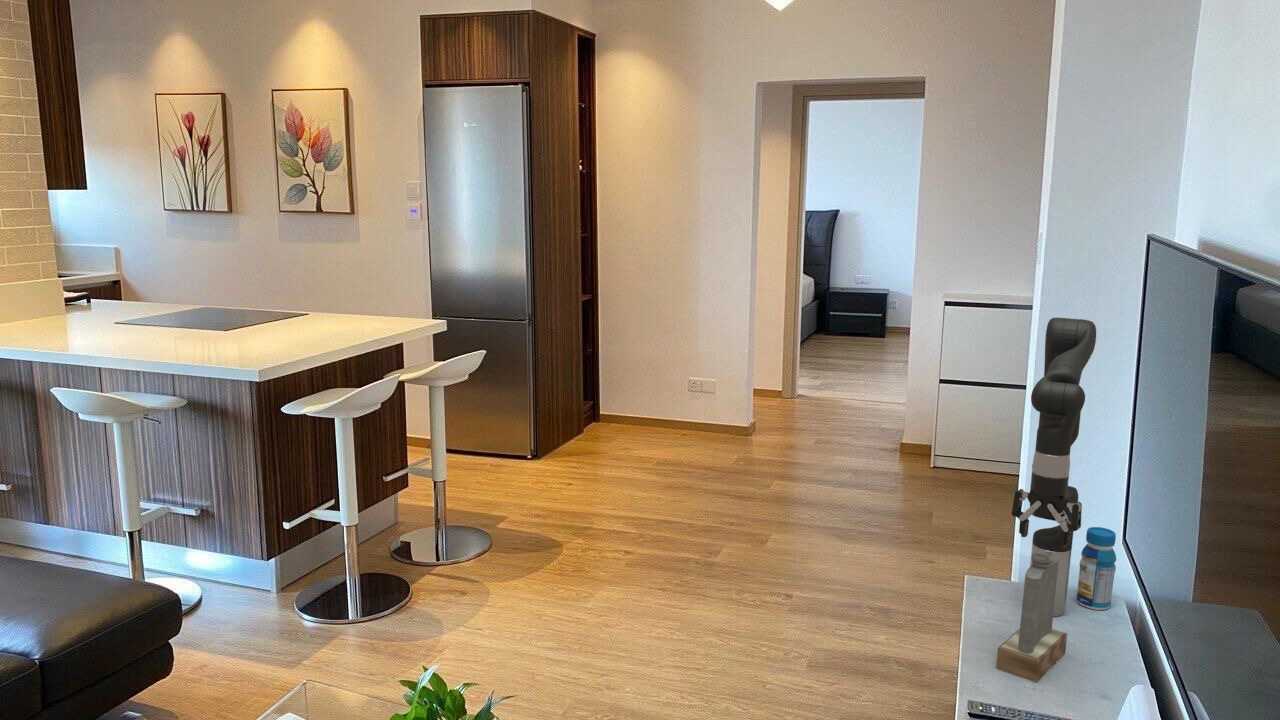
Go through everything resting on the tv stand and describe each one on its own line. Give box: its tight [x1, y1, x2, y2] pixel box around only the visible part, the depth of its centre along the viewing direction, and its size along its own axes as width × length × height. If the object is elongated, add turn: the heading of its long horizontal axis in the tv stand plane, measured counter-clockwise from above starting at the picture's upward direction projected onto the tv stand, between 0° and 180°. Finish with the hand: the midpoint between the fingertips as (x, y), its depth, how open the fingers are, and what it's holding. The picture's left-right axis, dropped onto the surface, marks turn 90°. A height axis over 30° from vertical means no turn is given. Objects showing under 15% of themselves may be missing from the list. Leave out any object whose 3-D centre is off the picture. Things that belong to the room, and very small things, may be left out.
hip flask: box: [1018, 554, 1059, 653], centre depth 216 cm, size 16×4×20 cm, turn 140°
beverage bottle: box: [1076, 526, 1117, 611], centre depth 247 cm, size 8×8×20 cm
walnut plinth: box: [995, 628, 1068, 683], centre depth 218 cm, size 18×9×5 cm, turn 138°
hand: (1043, 541), depth 213 cm, fingers open, 8 cm apart
